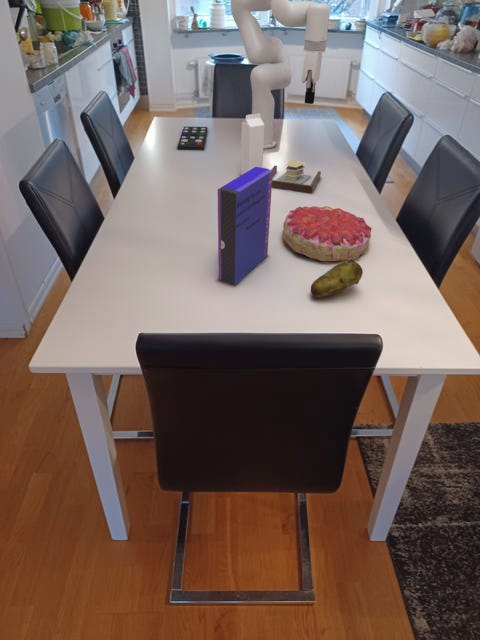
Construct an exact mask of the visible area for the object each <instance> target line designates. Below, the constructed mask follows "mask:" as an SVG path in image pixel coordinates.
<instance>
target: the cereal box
mask: <svg viewBox="0 0 480 640" xmlns="http://www.w3.org/2000/svg"><path fill="white" fill-rule="evenodd" d="M272 175H273V170H271V169H269V168H266V167H262V168H261V167H254V168H253V169H251V170H249V171H248V172H246V173H244V174H243V175H241V174H240V175H239V176H238V177H235V178H234V179H233V180H231V181H229V182H227V183H226V184H224V185H222V186H220V187H219V188H218V189H217V249H218V250H217V251H218V253H217V257H218V262H217V263H218V281H220V282H222V283H226V284H228V285H231V286H236V285H238V284H239V282H241V281H242V280H243V279H244V278H245V277H247V276H248V275H249V274H250V273H251V272H252V271H253V270H254V269H255V268H256V267H257V266H258V265H260V263H263V261H264V260H265V259H266V258H267V257H268V255H269V238H270V237H269V236H270V221H271V207H272V206H271V205H272V191H273V190H272V189H273V188H272V180H273V178H272Z"/></svg>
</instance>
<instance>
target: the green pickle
mask: <svg viewBox="0 0 480 640" xmlns="http://www.w3.org/2000/svg"><path fill="white" fill-rule="evenodd" d="M363 272H364V270H363V267H362V266H361V265H360V264H359V263H358V262H356V261H355V260H341V261H340V262H339V263H338V264H335V265H334V266H333V267H331V268H330V269H328V271H326V272H324V273H323V274H322V275H320V276H319V277H318V278H315V280H314V281H313V282H312V283H311V285H310V294H311V295H312V296H313V297H315V298H318V299H324V298H326V297H328V296H332V295H336V294H338V293H342V292H343V291H345V290H346V289H348V288H351V287H352V286H354V285H358V284H359V282H360V281H361V279H362V277H363Z"/></svg>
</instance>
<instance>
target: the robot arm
mask: <svg viewBox="0 0 480 640" xmlns="http://www.w3.org/2000/svg"><path fill="white" fill-rule="evenodd" d="M230 11H231V15H232V19H233V21H234V23H235V25H236V27H237V29H238V31H239V33H240V37H241V40H242V43H243V47H244V50H245V55H246V57H247V60H248V61H249V63H250V64H252V65H256V66H255V67H253V69H252V70H251V72H250V86H251V97H252V98H251V114H259V113H260V114H261V116H260V118H261V120H262V121H263V123H264V144H263V150H266V149H267V150H268V149H272V148H275V147H276V145H277V142H276V141H275V140H274V139H273V138H274V137H273V136H274V123H275V106H276V105H275V98H274V96H273V94H272V93H271V92H272V91H273V90H283V89H286V88H288V87H289V86H290V84H291V83H292V70H291V69H292V68H291V65H290V61H289V59H288V56H287V52H286V49H285V46H284V43H283V42H282V40H281V39H280V38H279V37H276V36H266V35H264V33H263V30H262V27H261V25H260V23H259V21H258V19H257V18H256V16H254V15H253V14H252V13H253V12H268V11H271V15H272V17H273V18H274V20H275V21H276V22H278V23H279V24H280V25H282V26H284V27H286V28H305V33H304V45H303V52H305V54H304V61H303V66H302V75H301V83H302V84H305V83H306V84H305V95H304V104H308V105H313V104H314V103H315V95H316V85H317V82H318V81H319V80H320V76H321V70H322V69H321V68H322V61H323V60H322V58H323V53H326V50H327V49H326V48H327V40H328V31H329V22H330V14H331V6H330V5H329V4H328V3H323V2H316V1H313V0H230ZM251 12H252V13H251Z"/></svg>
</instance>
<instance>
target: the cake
mask: <svg viewBox="0 0 480 640" xmlns="http://www.w3.org/2000/svg"><path fill="white" fill-rule="evenodd" d="M282 225H283V226H282V228H283V229H282V235H281V237H282V239H283V240H284V241H285V242H286V244H287V245H288V246H289V247H290V248H291V249H292V250H293V251H294V252H296V253H298V254H301V255H305V256H306V257H308V258H310V259H314V260H318V261H320V262H335V261H338V262H342V261H346V260H350V261H355V260H357V259H359V257H360V256H361V255H364V253H365V252H366V250H367V248H368V246H369V243H370V241H371V237H372V235H371V233H372V230H373V228H372V227H371V226H370V225H368V224H367V222H366V220H365V219H364V217H360V216H357V215H355V214H353V213H352V212H350V211H346V210H343V209H341V208H339V207H337V208H333V207H330V206H322V207H321V206H320V207H319V206H316V205H315V206H303V207H302V206H298V207H296V208H294V209H292V210H289V213H287V215H286V216H285V219H284V222H283V224H282Z"/></svg>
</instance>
